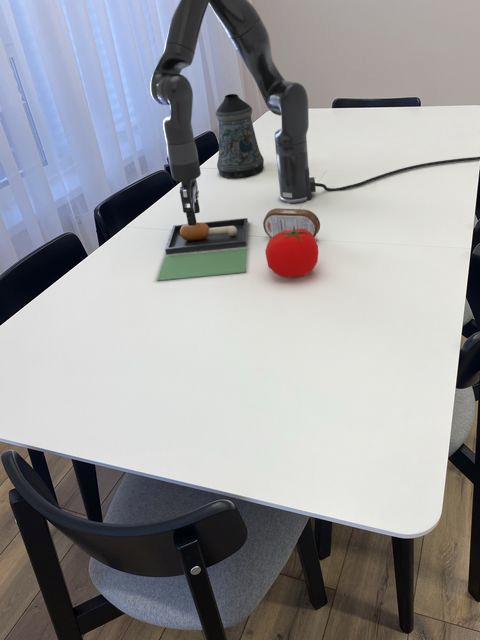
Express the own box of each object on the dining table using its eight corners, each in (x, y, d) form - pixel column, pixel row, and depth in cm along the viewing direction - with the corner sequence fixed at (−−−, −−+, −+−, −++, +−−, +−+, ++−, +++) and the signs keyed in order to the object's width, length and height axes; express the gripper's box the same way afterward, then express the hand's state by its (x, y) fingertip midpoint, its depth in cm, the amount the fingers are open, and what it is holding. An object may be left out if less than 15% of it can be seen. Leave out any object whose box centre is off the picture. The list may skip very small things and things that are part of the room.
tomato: (304, 289, 131) (300, 246, 125) (258, 280, 137) (253, 239, 131) (330, 263, 140) (328, 222, 134) (286, 256, 146) (282, 216, 140)
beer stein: (238, 182, 194) (227, 104, 180) (204, 172, 207) (191, 99, 193) (274, 168, 202) (266, 92, 188) (239, 159, 215) (229, 88, 201)
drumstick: (238, 231, 161) (235, 216, 158) (237, 238, 157) (234, 222, 154) (182, 237, 162) (179, 221, 159) (180, 244, 158) (177, 228, 155)
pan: (248, 223, 165) (247, 217, 164) (246, 247, 152) (245, 241, 151) (174, 231, 167) (173, 225, 166) (166, 255, 154) (165, 249, 153)
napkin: (247, 249, 151) (247, 248, 151) (245, 272, 141) (245, 271, 141) (165, 257, 153) (164, 256, 153) (157, 281, 142) (157, 280, 142)
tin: (321, 238, 152) (319, 208, 147) (318, 243, 149) (316, 213, 145) (267, 236, 157) (264, 207, 152) (263, 241, 154) (260, 211, 149)
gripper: (194, 166, 141) (205, 228, 150) (200, 149, 152) (210, 207, 162) (164, 169, 141) (177, 230, 151) (172, 152, 153) (184, 210, 162)
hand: (194, 218), depth 156 cm, fingers open, 8 cm apart
